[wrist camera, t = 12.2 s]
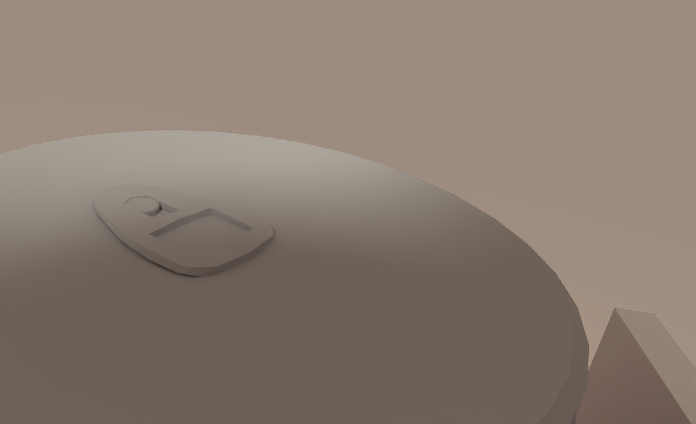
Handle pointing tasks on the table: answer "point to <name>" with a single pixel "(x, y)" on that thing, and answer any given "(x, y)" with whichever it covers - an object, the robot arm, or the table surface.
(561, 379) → the canned food
